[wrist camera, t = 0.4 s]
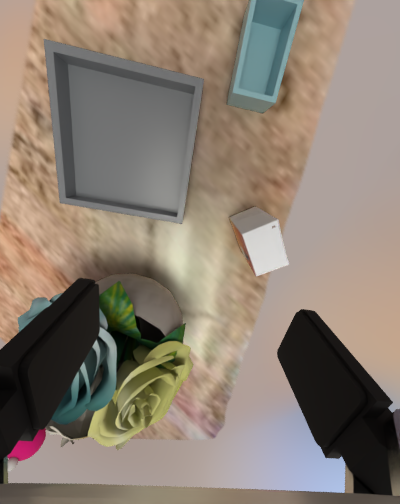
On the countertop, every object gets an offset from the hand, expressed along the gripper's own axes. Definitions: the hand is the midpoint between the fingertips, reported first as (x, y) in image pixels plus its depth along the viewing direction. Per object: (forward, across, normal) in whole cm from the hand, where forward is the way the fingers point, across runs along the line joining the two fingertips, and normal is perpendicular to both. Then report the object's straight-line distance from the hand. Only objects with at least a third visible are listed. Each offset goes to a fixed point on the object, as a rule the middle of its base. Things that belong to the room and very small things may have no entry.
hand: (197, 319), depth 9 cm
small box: (+30, -11, +2) cm, 32 cm away
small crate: (+29, -5, -22) cm, 37 cm away
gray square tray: (+29, +12, -8) cm, 33 cm away
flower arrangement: (+29, +9, +22) cm, 38 cm away
